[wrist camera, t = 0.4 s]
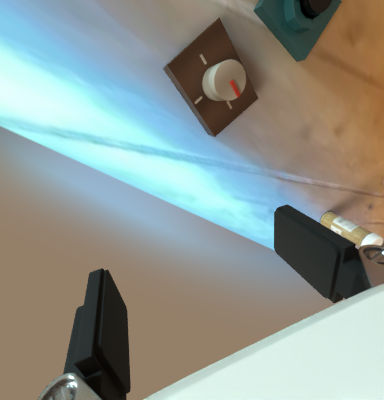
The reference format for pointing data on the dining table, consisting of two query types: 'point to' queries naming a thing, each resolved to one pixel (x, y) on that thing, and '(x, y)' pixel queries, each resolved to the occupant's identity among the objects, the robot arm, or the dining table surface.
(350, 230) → the sprinkles bottle
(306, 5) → the black button
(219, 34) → the dial panel
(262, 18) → the button housing
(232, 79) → the dial
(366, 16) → the dining table surface
